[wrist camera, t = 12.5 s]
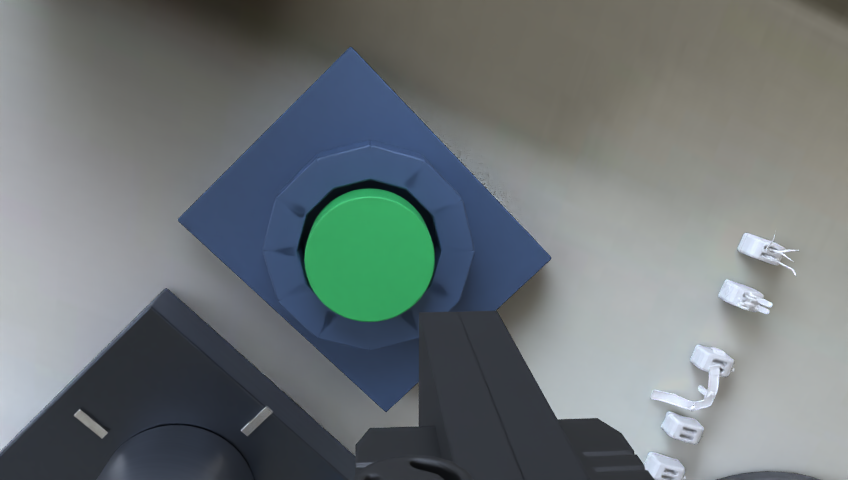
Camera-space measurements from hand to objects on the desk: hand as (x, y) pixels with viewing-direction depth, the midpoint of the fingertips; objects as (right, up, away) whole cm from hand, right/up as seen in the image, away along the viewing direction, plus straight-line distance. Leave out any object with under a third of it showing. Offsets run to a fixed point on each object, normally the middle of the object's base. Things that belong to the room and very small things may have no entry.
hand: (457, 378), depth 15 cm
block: (-3, +3, +16) cm, 17 cm away
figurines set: (+11, -2, +19) cm, 22 cm away
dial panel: (-10, -7, +18) cm, 22 cm away
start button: (-3, +2, +13) cm, 13 cm away
